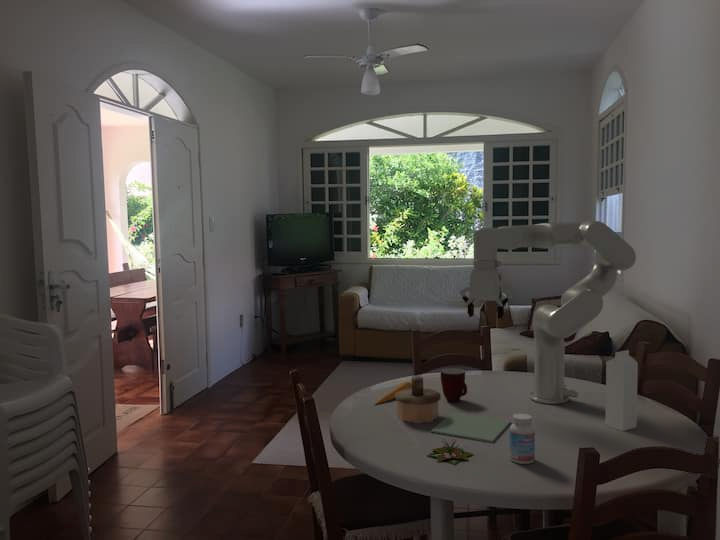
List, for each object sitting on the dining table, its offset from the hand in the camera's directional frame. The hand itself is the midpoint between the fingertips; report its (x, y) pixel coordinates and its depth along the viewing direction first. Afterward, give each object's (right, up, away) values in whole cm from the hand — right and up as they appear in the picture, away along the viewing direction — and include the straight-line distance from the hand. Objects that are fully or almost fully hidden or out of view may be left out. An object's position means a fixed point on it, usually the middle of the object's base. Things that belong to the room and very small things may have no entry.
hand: (485, 317), depth 196 cm
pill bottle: (-1, -32, -46) cm, 56 cm away
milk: (+34, -30, -24) cm, 51 cm away
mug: (-9, -29, +3) cm, 30 cm away
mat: (-9, -30, -22) cm, 39 cm away
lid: (-24, -24, -12) cm, 36 cm away
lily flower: (-18, -33, -43) cm, 57 cm away
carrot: (-31, -29, +8) cm, 43 cm away
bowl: (-23, -30, -12) cm, 40 cm away
